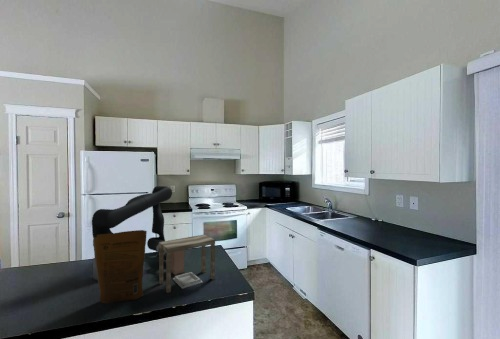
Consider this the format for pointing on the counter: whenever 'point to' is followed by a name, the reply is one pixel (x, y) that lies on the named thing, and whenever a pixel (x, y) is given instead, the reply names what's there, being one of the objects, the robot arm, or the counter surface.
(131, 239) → the pancake mix bag
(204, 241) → the small wooden table
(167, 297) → the counter surface
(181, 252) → the plain brown box
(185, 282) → the tray
